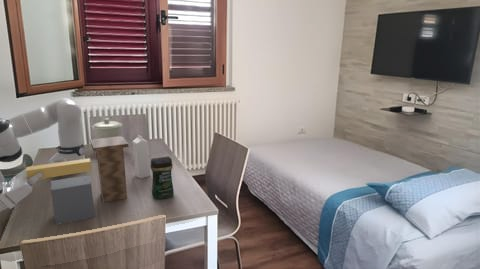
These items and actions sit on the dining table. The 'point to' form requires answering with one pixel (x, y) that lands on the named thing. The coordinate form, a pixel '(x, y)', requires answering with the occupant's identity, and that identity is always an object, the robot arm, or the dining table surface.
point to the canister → (107, 129)
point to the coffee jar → (162, 177)
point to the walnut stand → (111, 167)
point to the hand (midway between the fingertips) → (41, 170)
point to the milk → (141, 157)
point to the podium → (72, 199)
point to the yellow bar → (60, 168)
